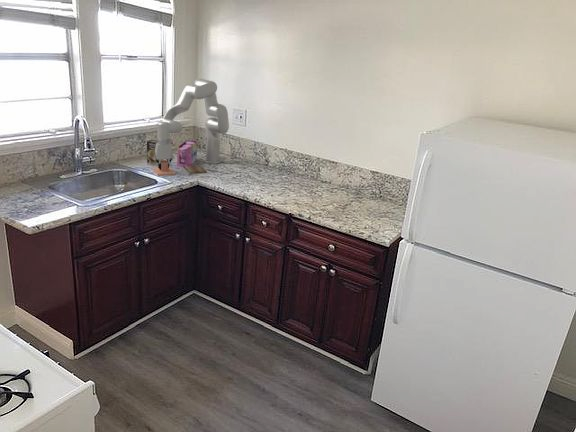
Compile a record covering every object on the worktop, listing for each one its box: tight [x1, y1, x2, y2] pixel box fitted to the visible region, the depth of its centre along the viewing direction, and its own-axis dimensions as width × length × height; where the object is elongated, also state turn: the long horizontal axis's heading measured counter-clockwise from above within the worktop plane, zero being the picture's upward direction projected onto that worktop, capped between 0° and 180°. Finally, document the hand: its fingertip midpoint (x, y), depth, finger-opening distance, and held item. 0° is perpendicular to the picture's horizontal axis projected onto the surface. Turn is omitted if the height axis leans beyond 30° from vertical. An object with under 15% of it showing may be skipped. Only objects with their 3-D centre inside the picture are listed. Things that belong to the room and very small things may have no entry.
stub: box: [152, 159, 176, 176], centre depth 301 cm, size 11×14×7 cm
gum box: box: [176, 139, 198, 168], centre depth 324 cm, size 24×8×14 cm, turn 176°
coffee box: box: [146, 139, 164, 167], centre depth 314 cm, size 9×6×16 cm
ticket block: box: [183, 164, 207, 175], centre depth 312 cm, size 11×14×2 cm
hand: (163, 168), depth 302 cm, fingers closed on stub, 4 cm apart
